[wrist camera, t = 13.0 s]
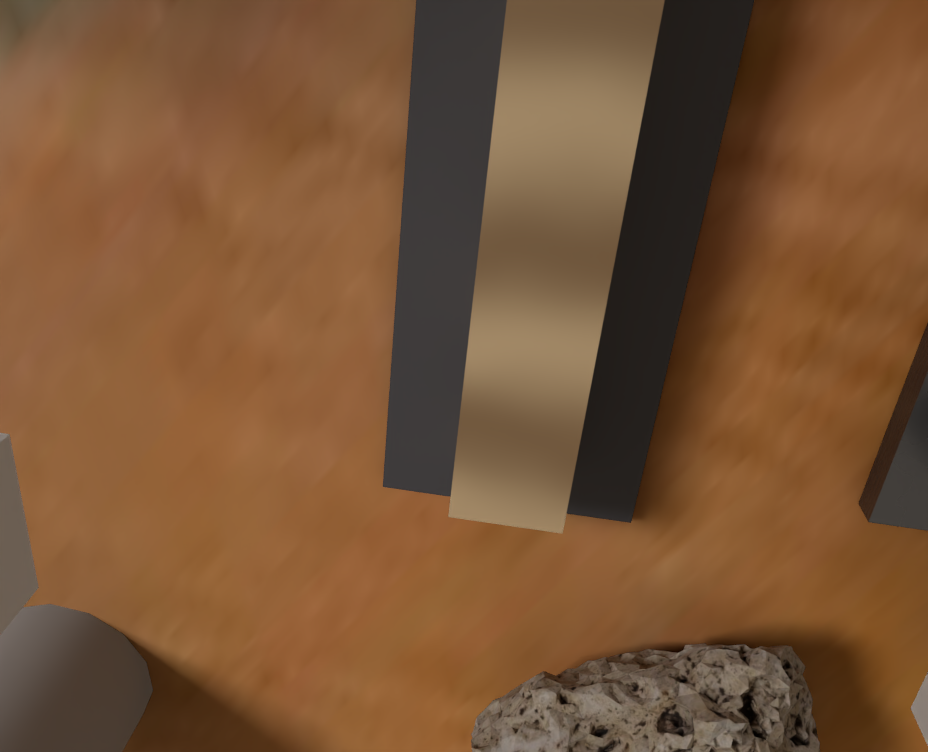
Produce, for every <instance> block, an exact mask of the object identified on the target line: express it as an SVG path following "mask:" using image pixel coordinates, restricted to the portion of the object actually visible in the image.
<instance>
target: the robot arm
mask: <svg viewBox="0 0 928 752" xmlns="http://www.w3.org/2000/svg"><path fill="white" fill-rule="evenodd" d="M37 589H38V582H37V577H36V572H35V567H34V561H33V556H32V551H31V545H30V540H29V535H28V530H27V524H26V519H25V514H24V509H23V503H22V498H21V493H20V487H19V482H18V477H17V472H16V466H15V461H14V456H13V450H12V445H11V440H10V435H9V434H4V433H0V635H1V634H2V632H3V631H4V630H5V629H6V627H7V626H8V625H9V624H10V622H11V621H12V620H13V619H14V617H15V616H16V615H17V614H18V612H19V611H20V610H21V609H22V608H23V606H24V605H25V604H26V603H27V601H28V600H29V599H30V598H31V596H32V595H33V594H34V593H35V591H36V590H37ZM911 710H912V713H913V715H914V717H915V719H916V721H917V723H918V726H919V728H920V730H921V732H922V734H923V736H924V738H925V741H926V743H927V745H928V673H927V675H926V677H925V679H924V681H923V683H922V685H921V688H920V690H919V692H918V694H917V696H916V698H915V700H914V702H913V704H912V707H911Z"/></svg>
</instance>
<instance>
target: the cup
mask: <svg viewBox="0 0 928 752" xmlns="http://www.w3.org/2000/svg"><path fill="white" fill-rule="evenodd" d="M152 692H153V688H152V684H151V680H150V675H149V671H148V667H147V663H146V661H145V660H144V659H143V657H142V656H141V655H140V654H139V653H138V651H137V650H136V649H135V648H134V646H133V645H132V644H131V643H130V642H129V640H128V639H127V638H126V637H125V635H124V634H122V633H120V632H119V631H117V630H116V629H114V628H112V627H111V626H109V625H107V624H106V623H104V622H102V621H101V620H99V619H97V618H96V617H94V616H93V615H91V614H89V613H85V612H81V611H77V610H73V609H69V608H65V607H61V606H56V605H52V604H47V605H39V606H31V607H23V608H22V609H21V610H20V611H19V612H18V614H17V615H16V616H15V617H14V619H13V620H12V621H11V622H10V624H9V625H8V626H7V627H6V629H5V630H4V631H3V632H2V634H1V635H0V752H123V750H124V748H125V746H126V744H127V742H128V741H129V739H130V737H131V735H132V733H133V732H134V730H135V728H136V726H137V724H138V723H139V721H140V719H141V717H142V715H143V713H144V711H145V709H146V706H147V704H148V701H149V699H150V697H151V694H152Z"/></svg>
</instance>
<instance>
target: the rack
mask: <svg viewBox="0 0 928 752" xmlns="http://www.w3.org/2000/svg"><path fill="white" fill-rule="evenodd" d="M859 505H860V507H861V509H862V511H863V513H864V515H865V516H866V518H867V520H868V522H872V523H879V524H886V525H893V526H900V527H907V528H914V529H921V530H928V323H927V326H926V329H925V331H924V334H923V336H922V339H921V342H920V344H919V347H918V350H917V352H916V355H915V357H914V360H913V363H912V365H911V368H910V370H909V373H908V376H907V378H906V381H905V384H904V386H903V389H902V391H901V394H900V397H899V399H898V402H897V404H896V407H895V410H894V412H893V415H892V417H891V420H890V423H889V425H888V428H887V431H886V433H885V436H884V438H883V441H882V444H881V446H880V449H879V451H878V454H877V457H876V459H875V462H874V464H873V467H872V470H871V472H870V475H869V478H868V480H867V483H866V485H865V488H864V491H863V493H862V496H861V498H860V501H859Z"/></svg>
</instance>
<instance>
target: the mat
mask: <svg viewBox="0 0 928 752" xmlns="http://www.w3.org/2000/svg"><path fill="white" fill-rule="evenodd" d="M753 3H754V0H665V1H664V7H663V12H662V17H661V22H660V27H659V33H658V38H657V43H656V48H655V54H654V59H653V64H652V69H651V74H650V80H649V85H648V90H647V95H646V101H645V106H644V111H643V116H642V121H641V127H640V132H639V137H638V142H637V148H636V153H635V158H634V163H633V168H632V174H631V179H630V184H629V189H628V195H627V200H626V205H625V210H624V215H623V221H622V226H621V231H620V236H619V242H618V247H617V252H616V257H615V262H614V268H613V273H612V278H611V283H610V289H609V294H608V299H607V304H606V309H605V315H604V320H603V325H602V330H601V336H600V341H599V346H598V351H597V356H596V362H595V367H594V372H593V377H592V383H591V388H590V393H589V398H588V403H587V409H586V414H585V419H584V424H583V430H582V435H581V440H580V445H579V450H578V456H577V461H576V466H575V471H574V477H573V482H572V487H571V492H570V497H569V503H568V508H567V513H568V514H575V515H581V516H588V517H595V518H602V519H609V520H616V521H623V522H630V523H631V521H632V516H633V512H634V508H635V504H636V499H637V495H638V491H639V487H640V482H641V478H642V474H643V470H644V465H645V461H646V457H647V453H648V448H649V444H650V440H651V436H652V432H653V427H654V423H655V419H656V415H657V410H658V406H659V402H660V398H661V393H662V389H663V385H664V381H665V376H666V372H667V368H668V364H669V359H670V355H671V351H672V347H673V343H674V338H675V334H676V330H677V326H678V321H679V317H680V313H681V309H682V304H683V300H684V296H685V292H686V287H687V283H688V279H689V275H690V270H691V266H692V262H693V258H694V254H695V249H696V245H697V241H698V237H699V232H700V228H701V224H702V220H703V215H704V211H705V207H706V203H707V198H708V194H709V190H710V186H711V181H712V177H713V173H714V169H715V165H716V160H717V156H718V152H719V148H720V143H721V139H722V135H723V131H724V126H725V122H726V118H727V114H728V109H729V105H730V101H731V97H732V92H733V88H734V84H735V80H736V75H737V71H738V67H739V63H740V59H741V54H742V50H743V46H744V42H745V37H746V33H747V29H748V25H749V20H750V16H751V12H752V8H753ZM506 4H507V0H416V14H415V29H414V43H413V58H412V72H411V87H410V101H409V116H408V130H407V145H406V159H405V174H404V188H403V203H402V218H401V232H400V247H399V261H398V276H397V290H396V305H395V319H394V334H393V348H392V363H391V377H390V392H389V406H388V421H387V435H386V450H385V464H384V479H383V487H388V488H395V489H402V490H409V491H416V492H423V493H430V494H436V495H443V496H450V497H451V489H452V480H453V471H454V462H455V454H456V445H457V436H458V427H459V418H460V410H461V401H462V392H463V383H464V374H465V366H466V357H467V348H468V339H469V330H470V321H471V313H472V304H473V295H474V286H475V277H476V269H477V260H478V251H479V242H480V233H481V225H482V216H483V207H484V198H485V189H486V180H487V172H488V163H489V154H490V145H491V136H492V128H493V119H494V110H495V101H496V92H497V84H498V75H499V66H500V57H501V48H502V39H503V31H504V22H505V13H506Z"/></svg>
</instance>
